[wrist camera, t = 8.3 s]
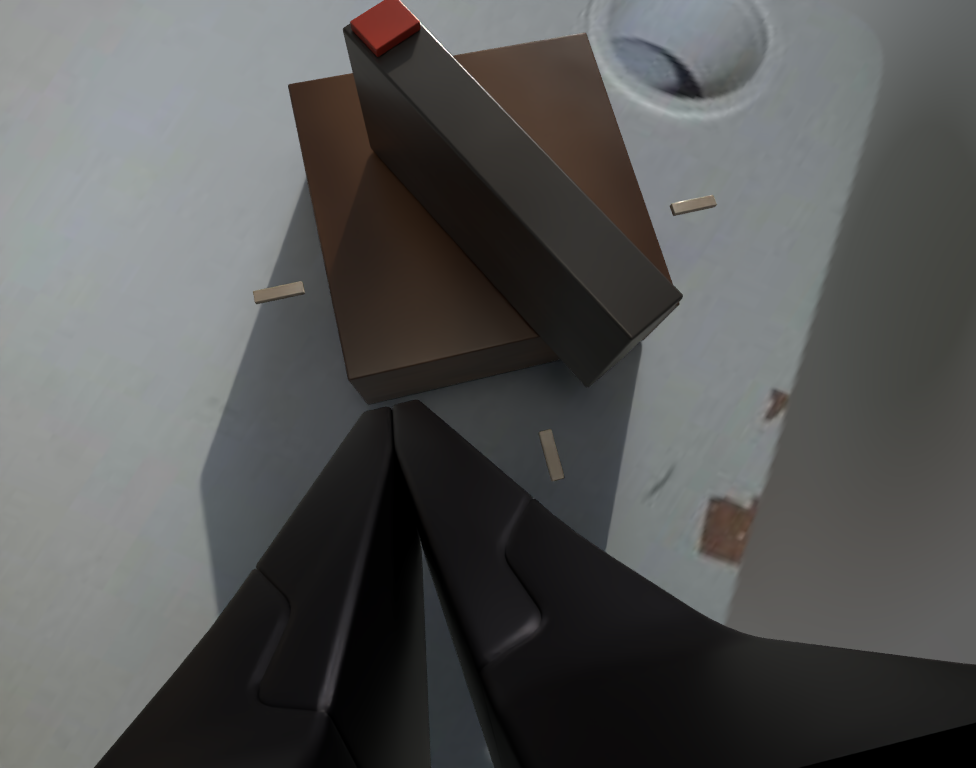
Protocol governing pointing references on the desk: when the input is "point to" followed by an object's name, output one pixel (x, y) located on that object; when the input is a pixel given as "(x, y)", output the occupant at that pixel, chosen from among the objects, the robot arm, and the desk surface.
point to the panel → (428, 247)
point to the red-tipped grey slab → (502, 196)
